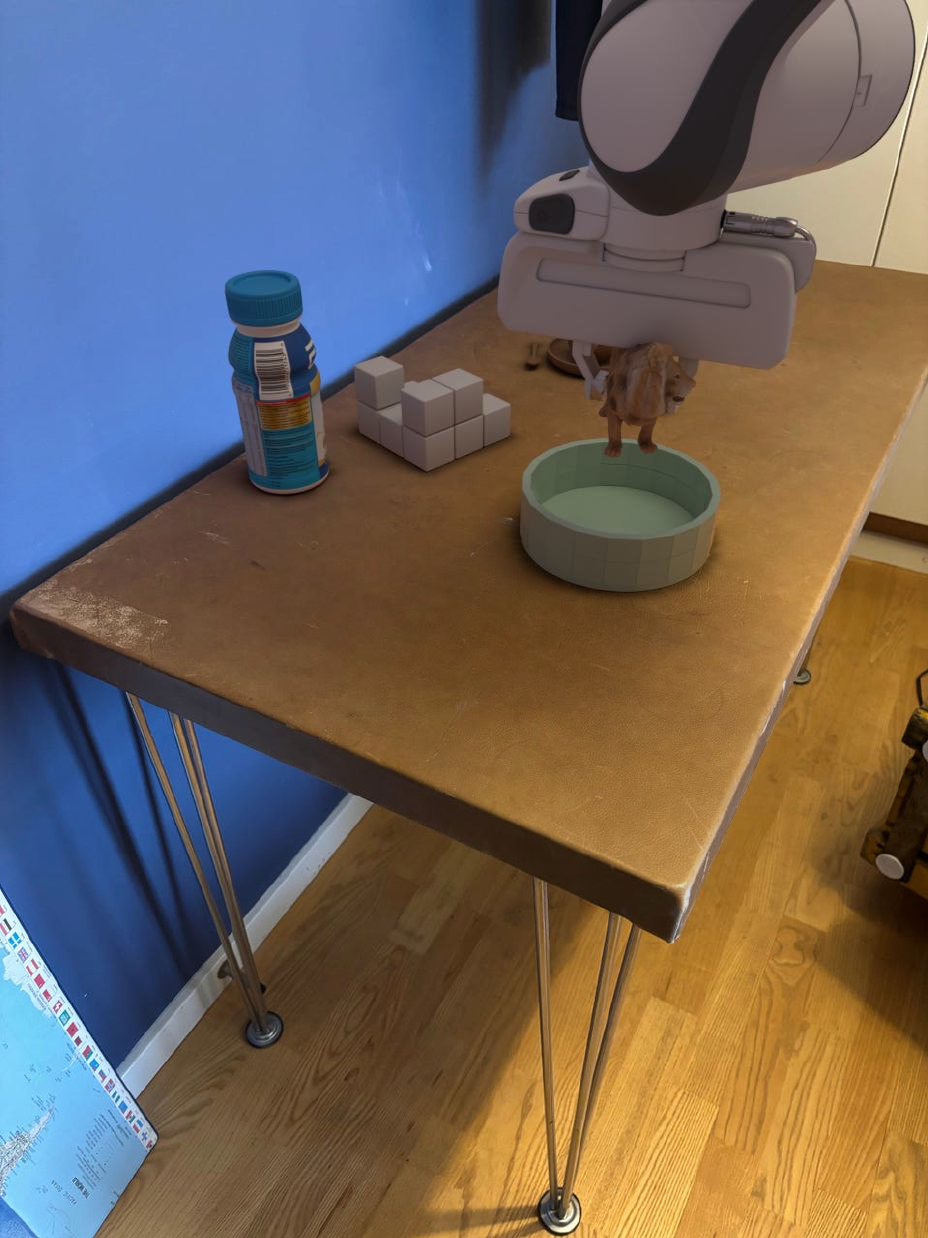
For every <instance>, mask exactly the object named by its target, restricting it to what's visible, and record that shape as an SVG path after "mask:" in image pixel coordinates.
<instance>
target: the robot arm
mask: <svg viewBox="0 0 928 1238" xmlns="http://www.w3.org/2000/svg"><path fill="white" fill-rule="evenodd" d="M600 15H601V16H600V19H599V20H598V22H597V24H596V26H595V29H594V31H593V32H592V35H591V37H590V39H589V42H588V45H587V47H586V51H585V53H584V57H583V61H582V64H581V68H580V73H579V79H578V83H577V84H578V85H577V95H576V112H577V121H578V126H579V127H578V128H579V132H580V136H581V139H582V143H583V145H584V147H585V150H586V153H587V155H588V157H589V161H588V165H586V166H581V167H578V168H574V169H570V170H566V171H562V172H557V173H554V174H551V175H549V176H547V177H545V178H542V179H540V180H539V181H537V182H535V183H533V184H532V185H531V186H530V187H528V188H527V189H526V190H525V191H523V193H521V194H520V196H519V197H518V198H517V199H516V200H515V203H514V204H513V222H514V225H515V227H516V229H518V231H517V232H516V233H515V234H514V235H513V236H512V237H511V238H510V239H509V240H508V242H507V243H506V246H505V248H504V252H503V256H502V260H501V265H500V274H499V280H498V289H497V307H496V308H497V309H496V310H497V316H498V319H500V321H501V323H502V325H503V326H504V327H505V329H506V330H507V331H510V332H516V333H521V334H527V335H535V336H540V337H548V338H553V339H554V338H560V339H567V340H573V348H572V355H573V357H574V359H575V361H576V363H577V365H578V367H579V369H580V371H581V373H582V375H583V376H582V377H583V379H584V389H583V399H584V400H590V401H596V402H604V403H605V401H606V398H607V382H608V379H609V376H610V374H611V372H608V371H603V370H600V367H599V365H598V362H597V360H596V358H595V355H594V353H593V351H594V350H595V349H596V347H597V346H598V345H605V346H612V347H618V348H625V349H630V348H631V347H633V346H636V345H637V344H644V343H650V342H655V341H657V342H658V343H660V344H663V343H667V344H669V345H671V346H672V347H673V357H678V360H677V363H679V364H680V365H681V368H682V370H683V372H685V373H686V374H687V375H688V376H689V377H690V378H692V379H693V380H694V378H695V377H696V376H697V374H698V372H699V370H700V368H701V366H702V364H703V361H704V362H710V363H717V364H722V365H728V366H736V367H743V368H749V369H754V370H755V369H756V370H762V371H772V370H773V369H775V368H776V367H777V366H778V365H779V364H781V363H782V362H784V360H785V359H786V358H787V356H788V353H789V350H790V345H791V341H792V336H793V333H794V328H795V327H794V326H795V320H796V313H797V303H798V293H799V292H801V291H802V290H803V289H804V288H805V287H806V286H807V285H808V283H809V281H810V280H811V277H812V275H813V271H814V266H815V261H816V257H817V253H818V251H817V250H818V249H817V248H818V247H817V242H816V239H815V238H814V236H813V235H812V233H811V231H810V230H808V229H806V228H805V227H803V226H800V225H798V222H799V221H798V220H797V219H795V218H791V217H787V216H776V217H768V216H763V215H758V214H754V213H749V212H740V211H733V210H727V208H726V206H727V201H728V196H729V195H730V194H734V193H738V192H742V191H745V190H746V191H747V190H752V189H755V188H759V187H763V186H764V187H765V186H768V185H773V184H777V183H780V182H785V181H789V180H792V179H794V178H798V177H802V176H806V175H811V174H814V173H818V172H821V171H825V170H830V169H833V168H835V167H837V166H840V165H842V164H845V163H847V162H849V161H852V160H855V159H856V158H858V157H860V156H862V155H864V154H865V153H867V152H869V151H870V150H871V149H872V148H873V147H874V146H876V144H878V143H879V142H880V141H881V140H882V138H883V137H884V136H885V135H886V134H887V133H888V132H889V130H890V129H891V127H892V126H893V124H894V123H895V121H896V119H897V118H898V116H899V114H900V113H901V110H902V108H903V106H904V104H905V101H906V99H907V96H908V94H909V92H910V91H909V90H910V87H911V84H912V79H913V76H914V70H915V65H916V64H915V63H916V52H917V46H916V44H917V43H916V42H917V41H916V31H915V25H914V19H913V15H912V12H911V9H910V7H909V4H908V2H907V0H602V6H601V14H600ZM796 234H799V235H800V236H802V237H800V236H795V235H796ZM679 407H680V406H677V405H675V404H674V403H672V402H670V401H668V405H667V409H666V411H665V412H664V413H665V414H671V415H676V413H677V412H678V410H679ZM664 413H663V414H664Z"/></svg>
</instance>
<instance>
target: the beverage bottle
mask: <svg viewBox="0 0 928 1238" xmlns="http://www.w3.org/2000/svg"><path fill="white" fill-rule="evenodd" d="M224 295H225V302H226V306H227V311H228V315H229V318H230V321H231V322H232V324H233V325H235V326H236V327H235V329H234V332H233V334H232V336H231V339H230V341H229V344H228V345H229V346H228V353H227V358H228V359H227V360H228V363H229V365H230V366H231V367H232V369H233V372H232V374H231V379H230V381H231V389H232V392H233V395H234V397H235V402H236V408H237V412H238V417H239V422H240V428H241V434H242V439H243V444H244V445H243V446H244V449H245V455H246V461H247V471H248V476H249V479H250V481H251V483H252V484H253V485H254V486H255V487H256V488H258V489H259V490H262V491H263V492H267V493H271V494H276V495H291V494H296V493H297V494H299V493H302V492H306V491H309V490H312V489H314V488H316V487H317V486H319V485H320V484H322V483H323V482H324V481H325V480H326V478H327V477H328V474H329V472H330V464H329V463H330V462H329V457H328V449H327V440H326V431H325V423H324V422H325V421H324V412H323V402H322V394H321V386H322V385H321V384H322V380H321V379H322V378H321V373H320V370H319V368H318V367H317V365H316V364H315V359H316V356H317V348H316V346H315V342H314V340H313V339H312V337H311V334H310V333H309V332H308V330H307V328H306V327H305V326H304V325H303V323H301V321H300V320H301V319H302V317H303V312H304V306H303V296H302V295H303V294H302V289H301V284H300V281H299V278H298V277H297V275H294V274H293V273H291V272H287V271H283V270H275V269H261V270H252V271H246V272H242V273H239V274H235V275H234V276H232V277H231V278H228V280H227V281H226V282H225V285H224Z"/></svg>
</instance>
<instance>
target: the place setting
mask: <svg viewBox="0 0 928 1238" xmlns="http://www.w3.org/2000/svg"><path fill="white" fill-rule="evenodd" d="M531 348H532V349H531V351H532V352H531V355H529V356H528V357H526V358H525V362H526V364H527V365H529V366H535V367H536V366H537V365H539V364H540V363H541V361H542V359H541V357H539V356H538V355H537V350H538V343H537V342H533V343H532V347H531ZM572 348H573V340H567V339H560V338H554V337H553V338H552V339H551V340H550V341H549V342H548V343H547V346H546V352H547V353H546V354H547V357H548V359H549V361H550V362H551V364H553V365H554V366H555V367H557V368H558V369H560V370H562V371H564V372H566V373H569V374H572V375H574V376H580V377H583V375H582V373H581V371H580V369H579V367H578V365H577V363H576V361H575V359H574V357H573V355H572ZM612 349H613V347H612V346H605V345H598V346H597V347H596V349H595V350H594V351H593V353H594V355H595V358H596V360H597V362H598V365H599V367H600V370H603V371H608V372H609V367H610V360H611V356H612Z"/></svg>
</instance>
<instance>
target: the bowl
mask: <svg viewBox="0 0 928 1238" xmlns="http://www.w3.org/2000/svg"><path fill="white" fill-rule="evenodd" d="M621 440H622V445H623V448H622V450H621V455H620V456H619V457H615V458H611V457H608V456H606V455H605V454H604V450H605V448H606V447H607V446H608V441H609V437H598V438H590V439H582V440H575V441H570V442H567V443H564V444H561V445H557V446H554V447H550V448H549V449H547V450H546V451H545V452H543V453H540V455H538V456H536V457H535V458H533V459H532V460H531V462H530V463H529V464H528V466H527V467H526V468H525V470H523V473H522V477H521V491H520V492H521V494H520V517H519V519H520V521H519V536H520V542H521V544H522V546H523V549H524V550H525V552H526V554H527V555H528V556H529V558H531V560H532V561H533V562H534V563H535V564H537V566H539V567H540V568H542V569H543V570H544V571H546V572H548V573H549V574H551V575H553V576H554V577H557V578H559V579H561V580H563V581H565V582H568V583H571V584H573V585H578V586H580V587H584V588H588V589H593V590H599V591H606V592H619V593H620V592H621V593H631V592H645V591H653V590H658V589H662V588H666V587H670V586H673V585H676V584H678V583H680V582H682V581H684V580H686V579H688V578H690V577H691V576H693V575H694V574H696V572H698V571H699V570H700V569H701V568H702V567H703V566H704V565H705V563H706V562H707V560H708V558H709V556H710V552H711V550H712V549H711V548H712V545H713V543H714V538H715V535H716V529H717V524H718V517H719V513H720V507H721V502H722V497H723V496H722V493H721V488H720V484H719V480H718V478H716V476H715V475H714V474H713V473H712V472H711V471H710V469H708V467H707V466H706V465H705V464H703V463H701V462H700V461H699V460H697V459H695V458H693V457H691V456H690V455H688V454H687V453H685V452H682V451H680V450H676V449H674V448H671V447H669V446H665V445H663V444H659V443H656V442H653V443H654V444H656V445H657V447H658V449H657V450H656V451H655V452H654V453H651V454H645V453H643V452H642V451H641V450H640V448H639V445H638V443H637V441H638V439H634V438H621Z"/></svg>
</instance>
